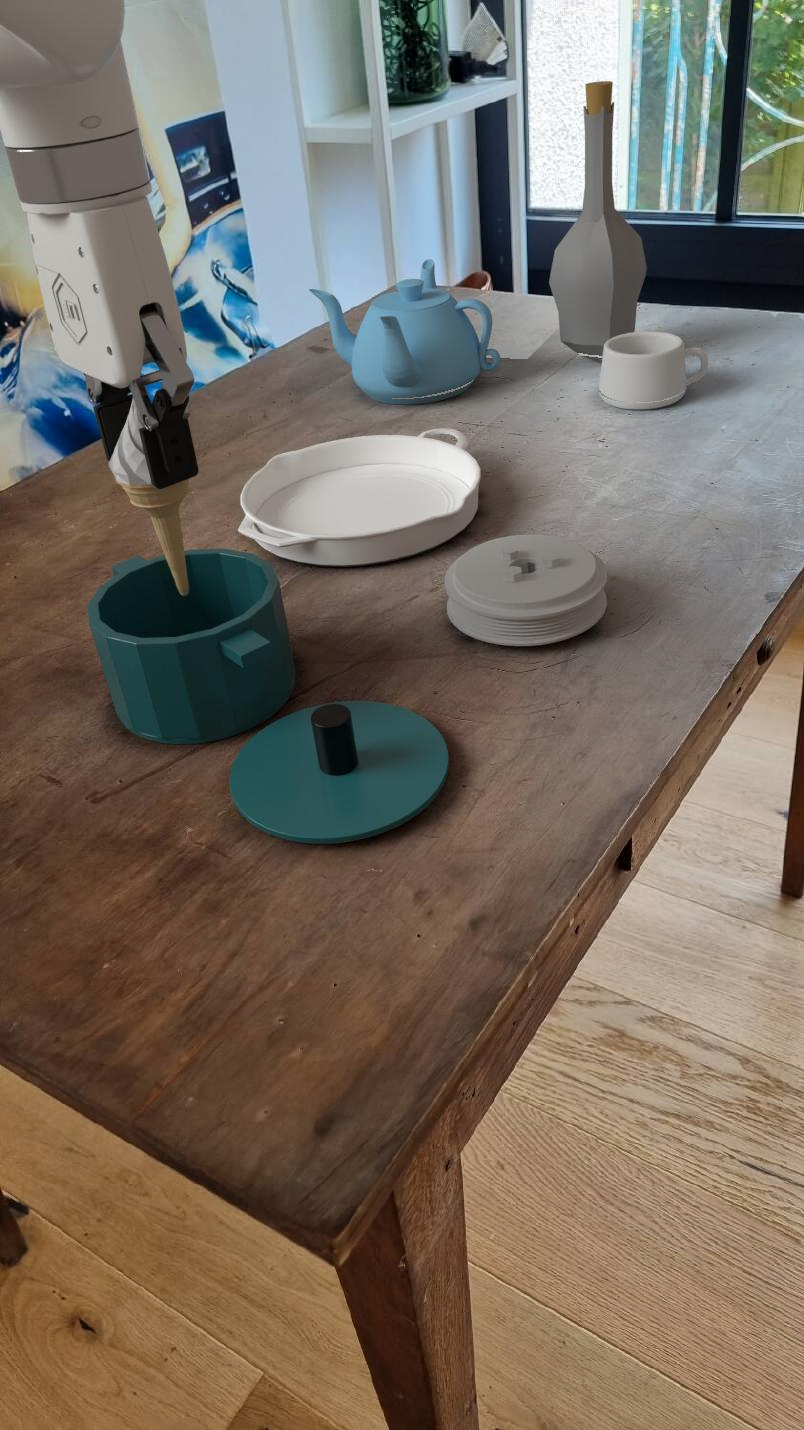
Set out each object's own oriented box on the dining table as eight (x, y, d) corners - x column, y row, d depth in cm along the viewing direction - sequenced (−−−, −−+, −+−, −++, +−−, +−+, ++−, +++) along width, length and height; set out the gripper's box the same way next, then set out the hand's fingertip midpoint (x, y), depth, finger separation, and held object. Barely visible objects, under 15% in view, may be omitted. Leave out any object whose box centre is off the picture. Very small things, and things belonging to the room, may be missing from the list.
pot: (191, 786, 75) (163, 682, 70) (72, 679, 87) (41, 585, 83) (352, 702, 81) (336, 601, 76) (218, 613, 94) (198, 522, 89)
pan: (179, 538, 107) (170, 500, 104) (374, 442, 122) (370, 407, 119) (358, 609, 92) (352, 566, 90) (554, 490, 107) (553, 451, 105)
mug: (604, 415, 121) (604, 361, 118) (594, 385, 129) (594, 333, 126) (715, 406, 121) (719, 350, 117) (698, 376, 128) (701, 324, 125)
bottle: (645, 375, 130) (654, 85, 113) (549, 379, 133) (543, 95, 115) (643, 345, 139) (651, 72, 122) (553, 349, 142) (548, 81, 124)
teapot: (317, 389, 138) (302, 288, 131) (437, 351, 146) (429, 252, 138) (394, 423, 126) (383, 313, 119) (521, 379, 134) (517, 273, 126)
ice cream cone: (238, 590, 79) (195, 384, 71) (176, 623, 76) (123, 413, 68) (191, 569, 83) (144, 371, 74) (129, 601, 80) (73, 397, 71)
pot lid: (314, 886, 66) (301, 821, 63) (192, 778, 75) (176, 717, 73) (495, 775, 73) (491, 711, 70) (361, 689, 82) (353, 630, 79)
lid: (491, 565, 96) (488, 512, 93) (630, 591, 90) (631, 535, 87) (419, 637, 87) (413, 581, 85) (567, 670, 82) (566, 612, 79)
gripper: (-36, 174, 67) (48, 455, 78) (87, 199, 56) (165, 525, 66) (76, 151, 71) (142, 423, 81) (213, 170, 59) (269, 484, 70)
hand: (152, 466), depth 74 cm, fingers closed on ice cream cone, 5 cm apart
